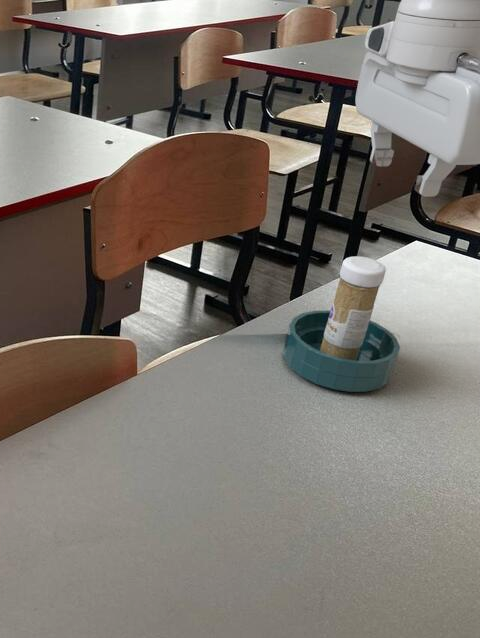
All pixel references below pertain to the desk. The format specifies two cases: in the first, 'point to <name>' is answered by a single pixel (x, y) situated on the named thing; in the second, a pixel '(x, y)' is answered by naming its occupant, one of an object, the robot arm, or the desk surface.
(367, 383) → the dessert bowl
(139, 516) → the desk surface
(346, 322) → the sprinkles bottle
